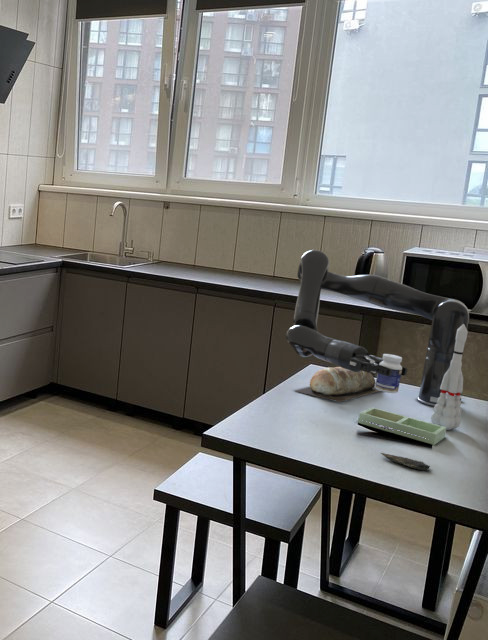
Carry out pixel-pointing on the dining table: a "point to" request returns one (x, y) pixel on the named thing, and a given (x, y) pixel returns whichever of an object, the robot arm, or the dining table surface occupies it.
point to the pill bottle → (391, 382)
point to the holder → (403, 425)
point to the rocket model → (451, 388)
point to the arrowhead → (407, 462)
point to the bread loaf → (340, 384)
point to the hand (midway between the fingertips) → (398, 372)
